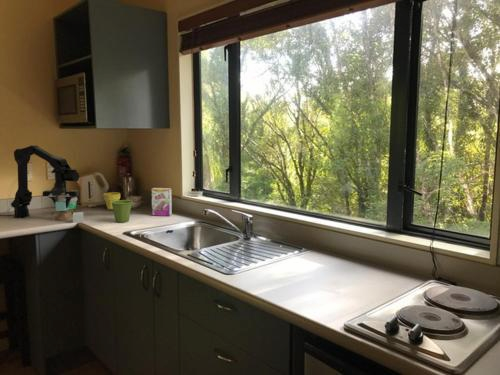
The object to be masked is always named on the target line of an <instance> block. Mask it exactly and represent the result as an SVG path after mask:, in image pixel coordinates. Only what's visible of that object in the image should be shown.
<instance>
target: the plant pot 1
mask: <svg viewBox="0 0 500 375" xmlns="http://www.w3.org/2000/svg"><path fill="white" fill-rule="evenodd" d="M103 199H104V201H105V205H106V208H107V210H113V207H112V203H111V201H116V200H120V199H121V192H106V193H103Z"/></svg>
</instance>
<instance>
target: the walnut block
mask: <svg viewBox="0 0 500 375" xmlns="http://www.w3.org/2000/svg"><path fill="white" fill-rule="evenodd" d="M52 216H53V218H52V219H53V220H54V222H66V220H67V221H69V220H71V218H72V219H73V214H72V213H71V212H60V211H57V212H55V213H53V214H52ZM53 220H52V221H53Z"/></svg>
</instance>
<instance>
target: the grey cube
mask: <svg viewBox="0 0 500 375" xmlns="http://www.w3.org/2000/svg"><path fill="white" fill-rule="evenodd" d="M83 220H85V219H84V211H82V212H81V211H80V212H79V211H78V212H77V211H76V212H75V213H73V214H72V223H73V224H81V222H83V223H84V221H83Z"/></svg>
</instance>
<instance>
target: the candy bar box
mask: <svg viewBox="0 0 500 375" xmlns="http://www.w3.org/2000/svg"><path fill="white" fill-rule="evenodd" d="M150 192H151V193H150V194H151V216H152V217H154V216H155V217H171V216H172V215H173V213H172V212H173V211H172V208H173V206H172V204H173V203H172V198H173V197H172V188H171V187H169V188H167V187H166V188H165V187H152V188H151V191H150Z"/></svg>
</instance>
